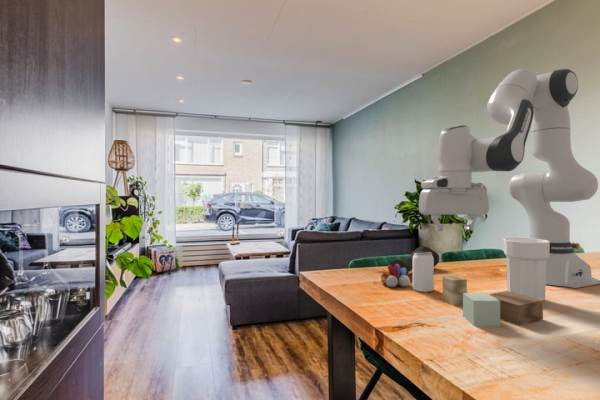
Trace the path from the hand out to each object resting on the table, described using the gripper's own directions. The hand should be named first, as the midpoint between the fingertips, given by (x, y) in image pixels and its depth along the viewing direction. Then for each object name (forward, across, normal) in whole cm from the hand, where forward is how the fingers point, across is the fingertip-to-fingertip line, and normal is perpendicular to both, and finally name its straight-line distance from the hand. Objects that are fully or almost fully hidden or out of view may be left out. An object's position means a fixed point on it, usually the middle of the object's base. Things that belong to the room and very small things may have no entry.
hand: (453, 230), depth 95 cm
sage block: (+21, +2, +14) cm, 25 cm away
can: (+21, +2, -13) cm, 24 cm away
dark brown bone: (+21, -8, -36) cm, 42 cm away
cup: (+20, -22, +2) cm, 30 cm away
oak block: (+21, 0, 0) cm, 21 cm away
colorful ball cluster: (+21, +8, -20) cm, 30 cm away
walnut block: (+21, -8, +13) cm, 26 cm away
